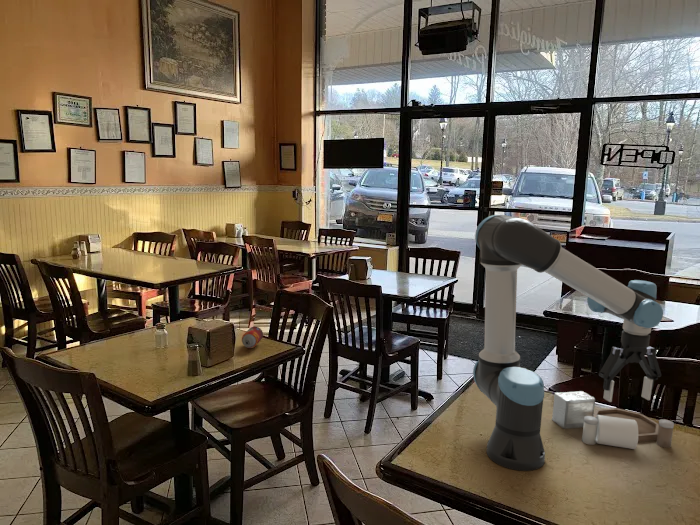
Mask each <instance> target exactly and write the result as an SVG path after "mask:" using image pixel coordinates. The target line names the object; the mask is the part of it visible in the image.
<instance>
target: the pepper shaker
mask: <svg viewBox="0 0 700 525" xmlns="http://www.w3.org/2000/svg"><path fill="white" fill-rule="evenodd" d="M674 423H675V422H673V421H671V420H668V419H664V418H663V419H659V420H658V424H659V426H658V435H657V440H656V445H657V446H659V447H660V448H661V447H662V448H665V449H670V448H671V447H672V442H673V432H674V426H675V424H674Z"/></svg>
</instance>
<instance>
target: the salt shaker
mask: <svg viewBox="0 0 700 525" xmlns="http://www.w3.org/2000/svg"><path fill="white" fill-rule="evenodd" d="M597 425H598V419H597V418H595V417H592V416H585V417H584V426H583V427H582V428H583V429H582V437H581V441H582V442H583V443H584V444H587V445H591V446H592V445H593V446H594V445H596V444H597V443H596V434H597Z"/></svg>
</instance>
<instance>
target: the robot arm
mask: <svg viewBox="0 0 700 525" xmlns="http://www.w3.org/2000/svg"><path fill="white" fill-rule="evenodd" d="M474 237H475V238H474V239H475V243H476V245H477V247H478V248H479V249H478V250H480V264H481V266H483V268H485V289H484V290H485V291H484V292H485V294H484V295H485V298H484V301H485V302H484V344H483V345H484V346H483V349H482V350H480V352H479V353H478V360H477V361H476V362H475V363H474V365H473V366H474V367H473V371H472V375H473V380H474V382H475V385H476V386H477V388H478V389H479V391H480V392H481V393H482V394H484V395H485V396H486V398H488V400H490V401H491V402H492V404H493V405H494V406H495V407H496V412H495V425H494V428H493V430H492V432H491V435H490V436H489V439H488V440H487V444H486V454H487V457H489V459H490V460H491V461H493V462H494V463H495V464H497V465H499V466H502V467H504V468H507V469H510V470H514V471H521V472H522V471H524V472H525V471H526V472H529V471H535V470H538V469H540V468H542V467H543V466H544V464H545V459H546V452H545V448H544V444H543V441H542V436H541V426H542V416H543V407H544V406H543V405H544V399H545V384H544V380H543V379H542V377H541V376H540V375H539V374H538V373H536V372H535V371H533V370H529V369H527V368H525V367H521V355H520V354H519V353H518V352H517V350H516V320H517V318H516V317H517V291H518V288H517V286H518V269H519V268H520V267H522V266H525V267H526V268H529V269H531V270H533V271H536V272H537V273H546V274H548V275H550V276H551V277H553V278H555V279H556V280H558V281H560V282H562V283H564V284H565V285H567V286H569V287H570V288H572V289H574V290H575V291H577V292H578V293H581V294H582V295H584V296H586V297H587V298H586V301H587V306H588V308H589V309H590V310H591V312H593V313H600V314H603V313H604V314H605V313H606V314H610V315H612V316H615V317H617V318H620V319H622V320H623V322H622V329H623V330H622V331H621V336H620V337H621V338H620V343H621V347H620V348H619V347H616V346H612V347H611V349H610V354H609V355H608V357H607V359H606V360H605V362H604V363H603V366H602V367H601V368H600V370H599V372H598V376H599V377H601V378H602V379H603V386H602V388H603V390H604V391H603V399H604V400H605V401H607V402H609V403H612V402H613V394H614V386H615V381H614V378H615V377H616V376H618V374H619V373H620V372H621V370H622V369H623V368H624V367H625V366H626V365H628V364H633V363H635V364H637V363H638V364H639V365H640V367H641V369H642V370H643V372H644V373H645V374H646V376H644V377H643V383H642V390H641V398H643V399H645V400H647V401H650V400H651V395H652V390H653V389H654V384H655V381H658V380H659V378H661V377H662V372H661V369H660V365H659V361H658V359H657V349H656V348H655V347H652V346H650V341H651V340H650V339H651V335H650V334H651V332H652V328H655V327H656V326H658V325H659V324H660V322H661V321H662V320H663V317H664V309H663V307H662V305H661V304H660V303H659V302H657V301H656V300H657V293H658V292H657V290H658V289H657V288H658V287H657V285H656V283H654V282H651V281H647V280H642V279H641V280H640V279H634V280H630V281H629V282H628V285H627V286H626V285H625V284H623V283H622V282H620V281H618V280H617V279H615V278H614V277H612V276H610V275H608V274H607V273H605V272H603V271H602V270H600V269H598V268H596V267H595V266H593V265H592V264H591V263H589V262H586V261H585V260H583V259H581V258H580V257H578V255H575V254H573V253H572V252H570V251H569V250H567V249H565V248H564V247H562V243H561V241H560V240H558V239H556V238H555V237H554V236H551V235H550V233H548V232H546V231H545V230H543V229H541V228H540V227H539V226H538V225H535V224H534V223H533V222H531V221H530V220H527V219H524V218H522V217H515V216H510V215H507V214H493V215H490V216H487V217H485V218H484V219H483V220H481V222H480V223H479V224H478V225H477V228H476V230H475V234H474ZM645 356H646V357H647V358H646V357H645Z"/></svg>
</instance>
